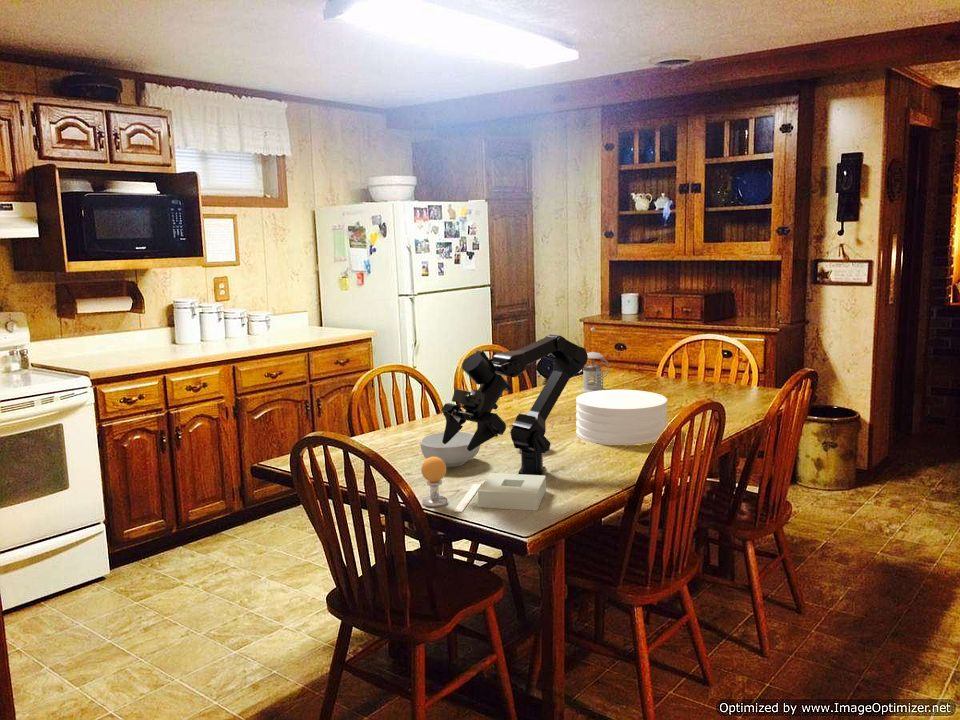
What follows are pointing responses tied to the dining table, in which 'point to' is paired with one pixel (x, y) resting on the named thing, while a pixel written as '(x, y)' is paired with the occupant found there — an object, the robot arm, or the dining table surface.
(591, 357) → the french press
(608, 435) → the plate stack
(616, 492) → the dining table surface
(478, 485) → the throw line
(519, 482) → the block
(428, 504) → the tee
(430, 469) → the ball
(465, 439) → the cereal bowl
